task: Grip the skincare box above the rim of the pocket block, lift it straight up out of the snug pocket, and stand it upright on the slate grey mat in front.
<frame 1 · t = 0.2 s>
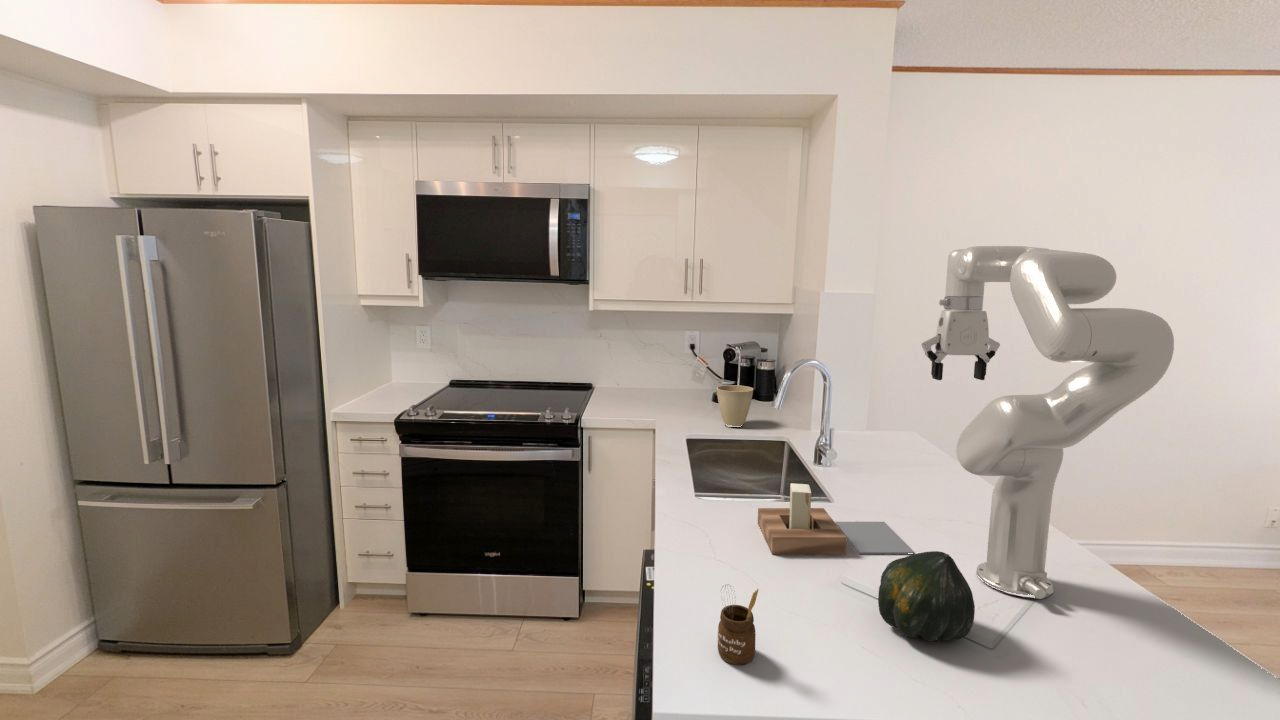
hand: (958, 379, 131), 37 cm above the table, tool pointing down, fingers open, 9 cm apart
utensil holder: (736, 655, 91), on the table
pocket block: (798, 538, 132), on the table
squash: (922, 629, 98), on the table
skincare box: (798, 539, 132), resting in pocket block
plant pot: (734, 426, 234), on the table
slate mat: (872, 538, 132), on the table
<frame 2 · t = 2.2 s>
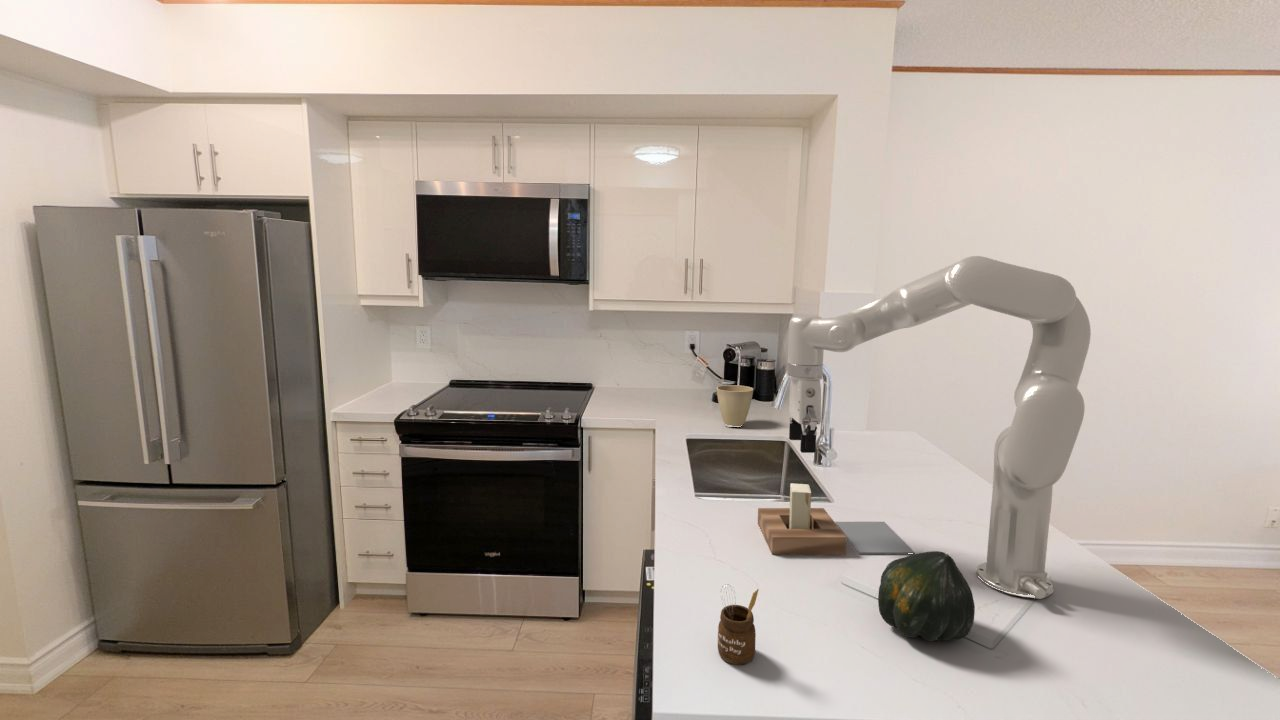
hand: (801, 445, 129), 22 cm above the table, tool pointing down, fingers open, 9 cm apart
nothing on the table moved.
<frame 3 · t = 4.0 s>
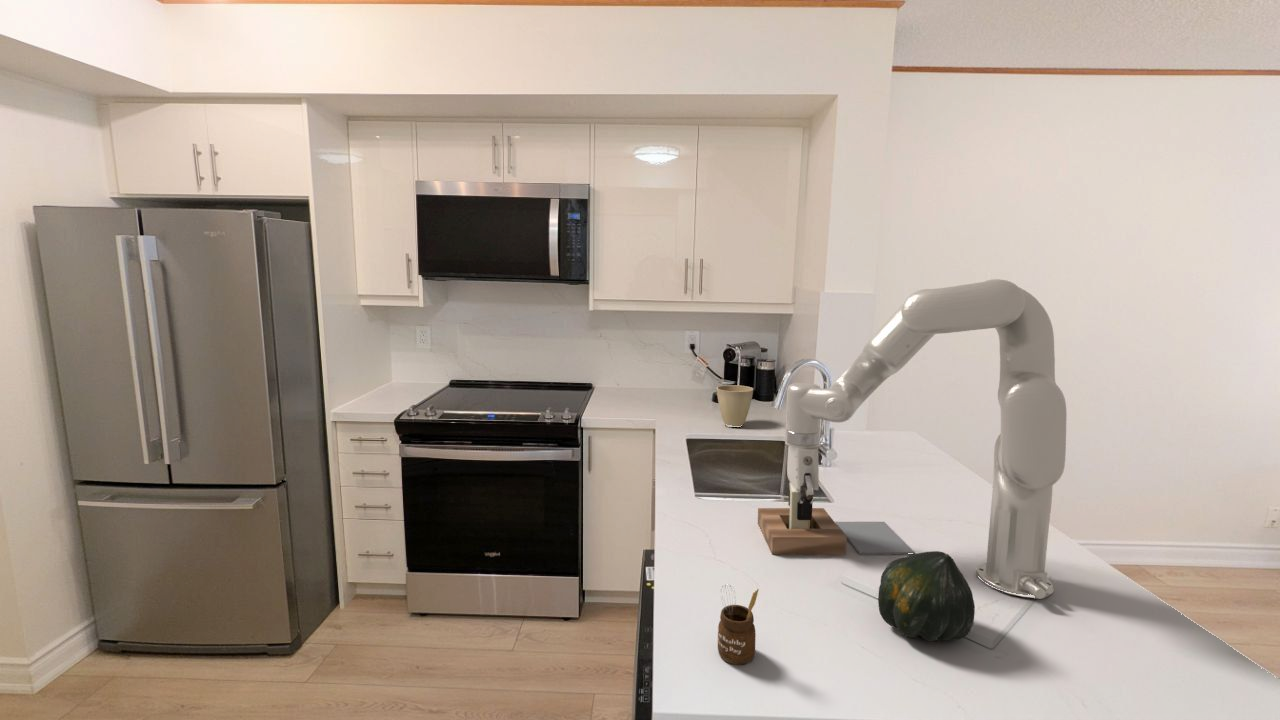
hand: (799, 512, 131), 6 cm above the table, tool pointing down, fingers closed on skincare box, 6 cm apart
skincare box: (798, 538, 132), resting in pocket block, touching gripper
everything else where it was.
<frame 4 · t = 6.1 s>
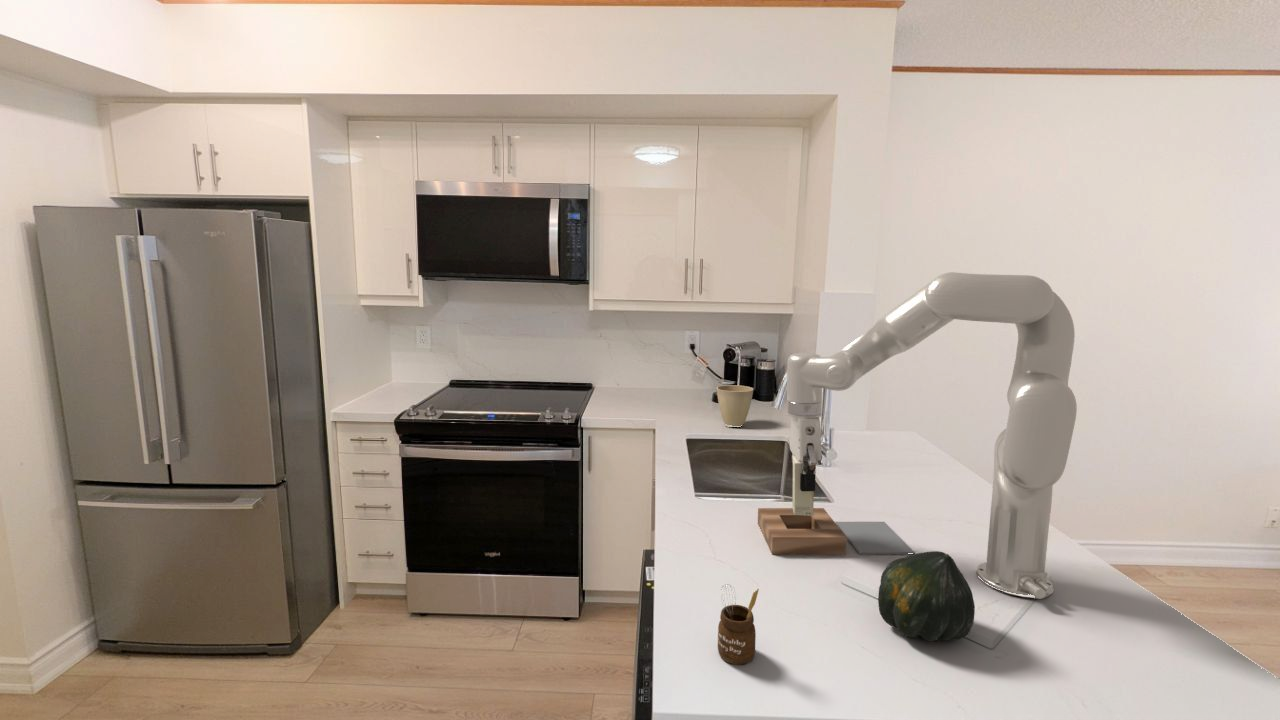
hand: (802, 484, 130), 13 cm above the table, tool pointing down, fingers closed on skincare box, 6 cm apart
skincare box: (802, 511, 131), point 7 cm above the table, touching gripper
everything else where it was.
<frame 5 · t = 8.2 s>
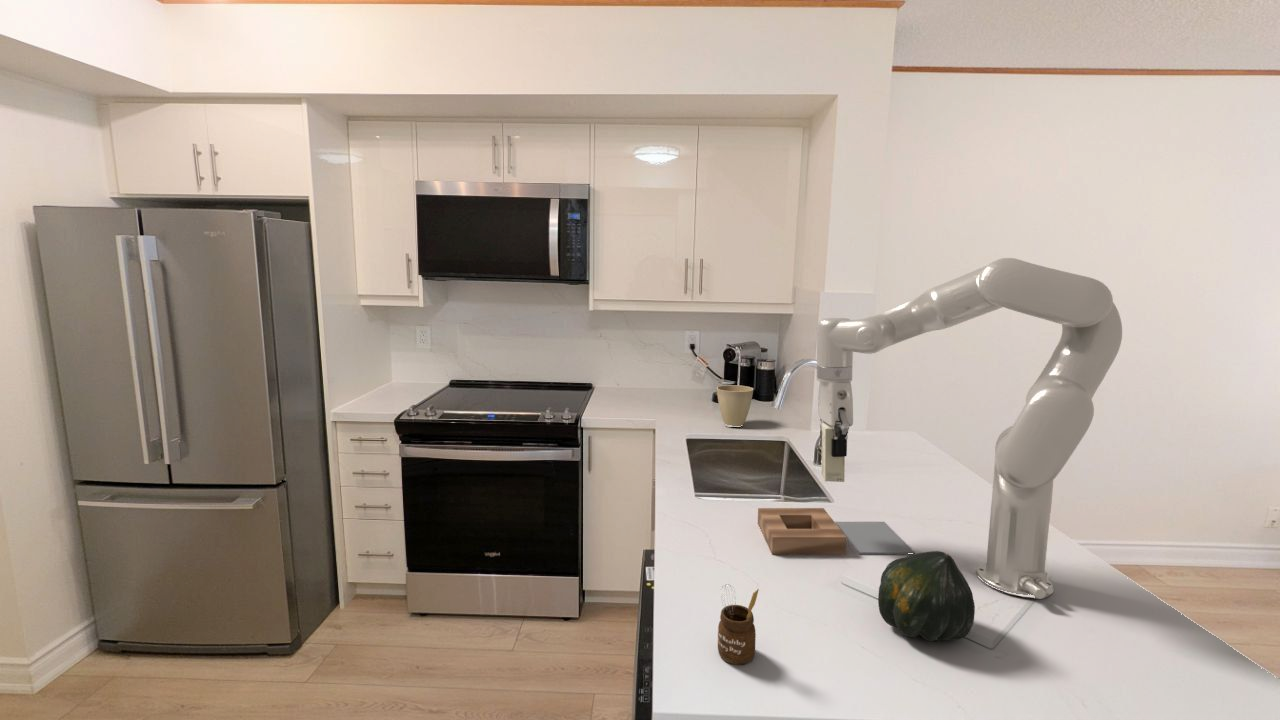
hand: (833, 450, 129), 21 cm above the table, tool pointing down, fingers closed on skincare box, 6 cm apart
skincare box: (832, 478, 129), point 14 cm above the table, touching gripper
everything else where it was.
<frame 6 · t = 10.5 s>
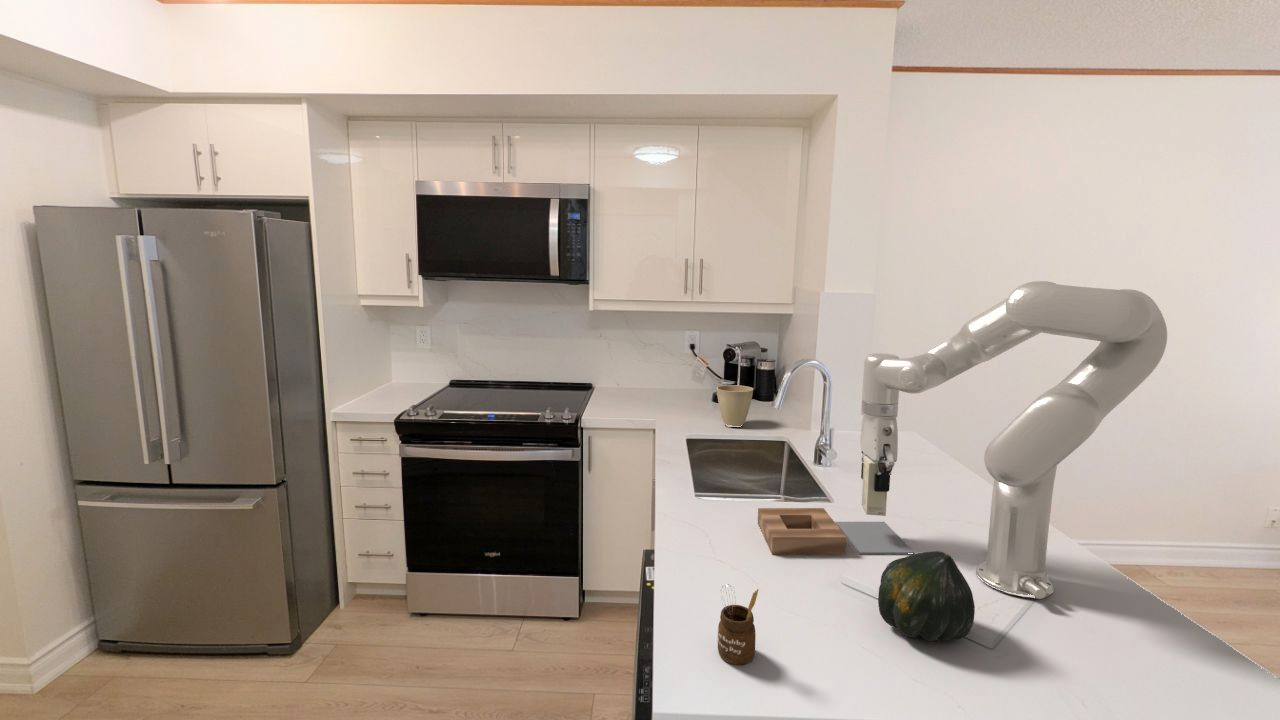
hand: (874, 484, 130), 13 cm above the table, tool pointing down, fingers closed on skincare box, 6 cm apart
skincare box: (873, 511, 131), point 6 cm above the table, touching gripper
everything else where it was.
when the fingers open (8 cm above the table, at t = 12.4 s): skincare box stays where it is, resting on slate mat.
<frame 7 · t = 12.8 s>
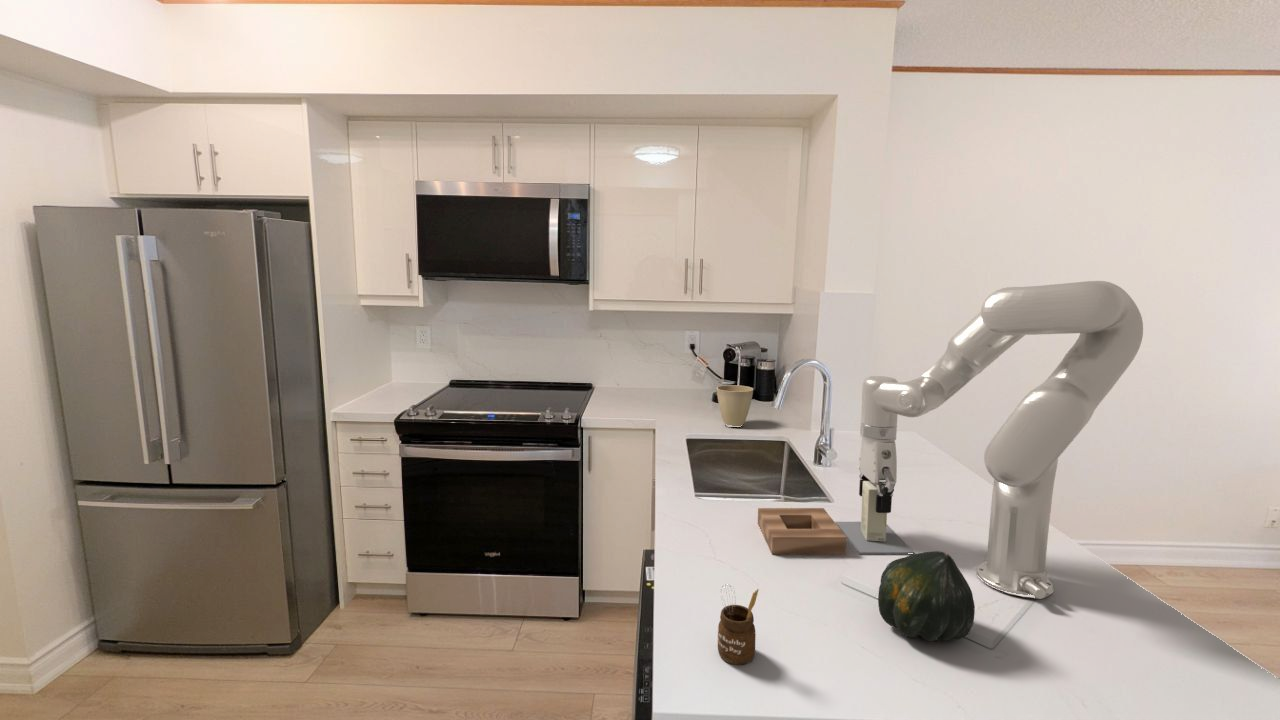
hand: (874, 503, 130), 8 cm above the table, tool pointing down, fingers open, 9 cm apart
skincare box: (872, 536, 132), resting on slate mat
everything else where it was.
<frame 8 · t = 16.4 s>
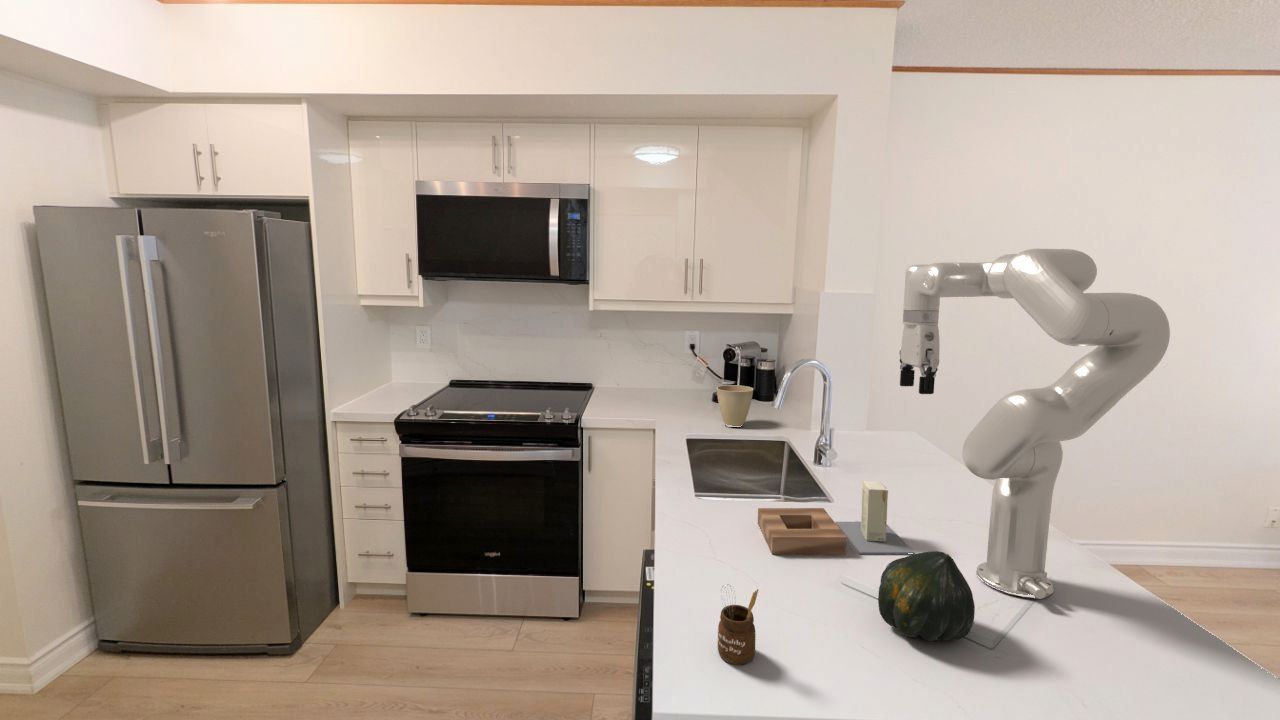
hand: (916, 389, 135), 33 cm above the table, tool pointing down, fingers open, 9 cm apart
nothing on the table moved.
at the end: skincare box inside the target area on the slate mat (0.1 cm from its centre), point 0.3 cm above the slate mat's base; skincare box tilted 0°; skincare box touching slate mat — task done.
